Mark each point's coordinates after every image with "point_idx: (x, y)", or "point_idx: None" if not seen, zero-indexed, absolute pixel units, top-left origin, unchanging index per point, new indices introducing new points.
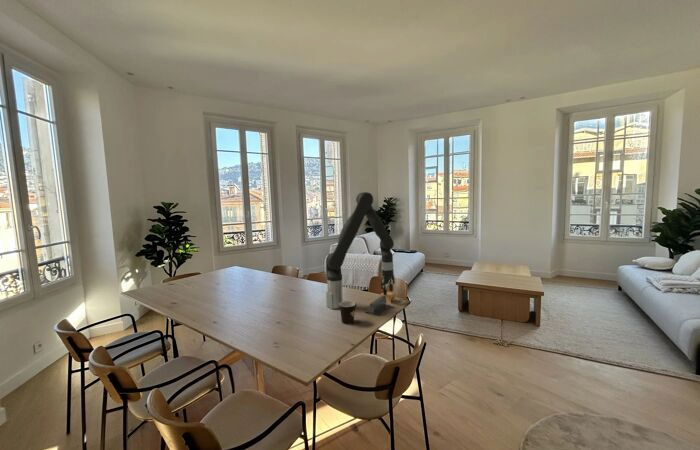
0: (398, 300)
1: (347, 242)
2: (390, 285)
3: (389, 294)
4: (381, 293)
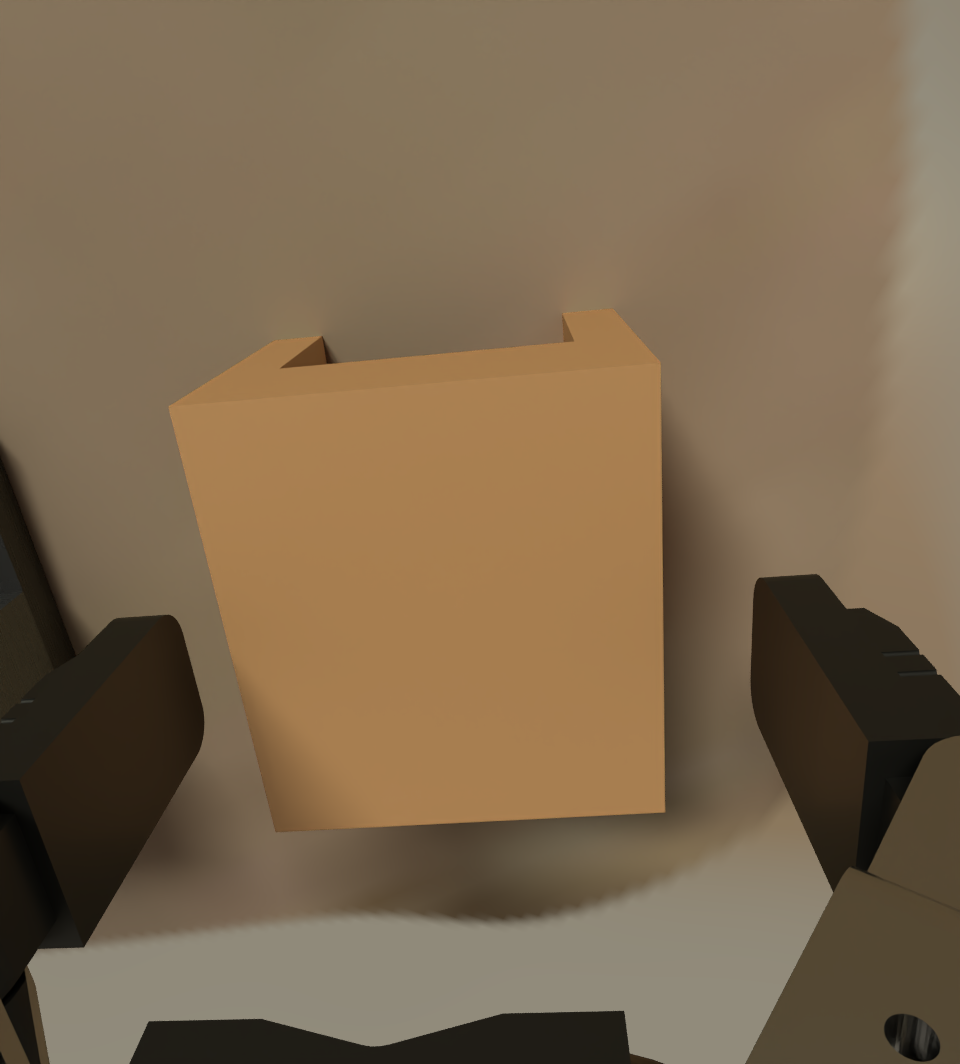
0: (673, 728)
1: None
2: (886, 816)
3: (369, 750)
4: (241, 414)
